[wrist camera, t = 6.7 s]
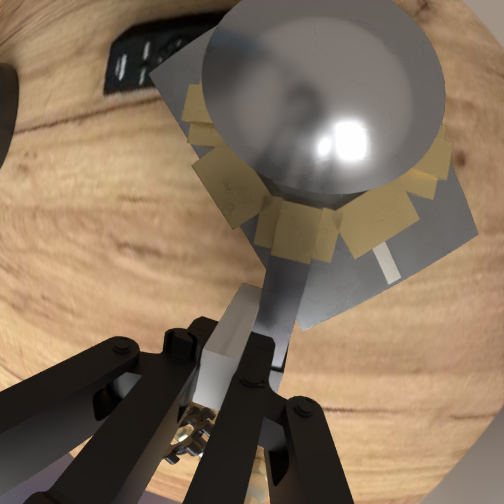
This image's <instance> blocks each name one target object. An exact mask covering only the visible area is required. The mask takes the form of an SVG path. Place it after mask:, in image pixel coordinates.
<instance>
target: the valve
mask: <svg viewBox="0 0 504 504" xmlns="http://www.w3.org/2000/svg"><path fill="white" fill-rule="evenodd" d="M215 416H216V415H215V414H214V412H213V411H212V410H211V409H210V408H208V407H205V408H203V409H202V410H201V411H199V410H198V409H197V408H196V407H191V408H190V409H189V410H188V412H187V415H186V416H185V417H184V419H183V421H182V423H181V425H180V427H179V428H178V430H177V432H176V434H175V436H174V438H175V439H176V440H177V441H178V442H179V443H177V444H174V445H171V444H170V445H169V447H168V449H167V451H166V452H165V454H164V456H163V458H162V459H165V460H166V461H167V462H169V463H170V464H172V465H173V464H176V463H177V462H178V461H179V460H180V459H179V458H178V457H177V456H176V455H183V454H186V453H188V454H189V455H191V456H199V462H200V459H201V457H202V454H203V452H204V449H205V447H206V444H207V442H206V441H205V440H204V439H203V438H202V435H203V433H205V434H206V435H207V436H210V434H211V431H212V429H213V426H214V425H213V424H212V423H211V422H210V421H209V420H206V419H207V418H210V419H211V420H214V418H215ZM188 424H191V425H192V426H193V427H194V430H192V429H191V428H190V427H188V426H186V425H188ZM268 493H269V489H268V482H267V473H266V466H265V462H264V461H263V460H262V459H254V464H253V468H252V472H251V477H250V481H249V485H248V489H247V493H246V497H245V502H244V504H262V503H263V502H264V501H265V500H266V498H267V496H268Z"/></svg>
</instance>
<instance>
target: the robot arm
mask: <svg viewBox="0 0 504 504" xmlns="http://www.w3.org/2000/svg"><path fill="white" fill-rule="evenodd" d="M17 103H18V82H17V76H16V73H15V70H14V69H13V67H12V66H11V65H9V64H5V63H0V168H1V166H2V164H3V162H4V159H5V157H6V154H7V151H8V148H9V145H10V141H11V137H12V133H13V129H14V124H15V119H16V112H17ZM261 293H262V288H258V287H255V286H252V285H248V284H245V283H242V284H241V286H240V288H239V289H238V291H237V293H236V294H235V296H234V298H233V299H232V301H231V303H230V305H229V306H228V308H227V310H226V311H225V313H224V315H223V316H222V318H221V320H220V321H219V322H218V321H215V320H212V319H209V318H206V317H203V316H201V317H199V318H197V319H195V320H194V321H193V322H192V323H191V324H190V326H189V327H188V328H187V329H184V328H173V329H169V330H168V331H166V332H165V336H164V344H163V351H162V352H161V353H159V354H154V353H147V352H141V351H140V348H139V345H138V344H137V343H136V342H135V341H134V340H132V339H130V338H127V337H123V336H115V337H112V338H109V339H107V340H105V341H103V342H101V343H99V344H97V345H95V346H93V347H91V348H89V349H87V350H85V351H83V352H81V353H79V354H77V355H75V356H73V357H71V358H69V359H67V360H65V361H63V362H60V363H58V364H56V365H54V366H52V367H50V368H48V369H46V370H44V371H42V372H40V373H38V374H36V375H34V376H32V377H30V378H28V379H26V380H24V381H21V382H19V383H17V384H15V385H13V386H11V387H9V388H7V389H5V390H3V391H1V392H0V496H1V495H2V494H4V493H6V492H7V491H9V490H11V489H12V488H14V487H16V486H17V485H19V484H20V483H22V482H24V481H25V480H27V479H29V478H30V477H31V476H33V475H35V474H36V473H38V472H39V471H41V470H42V469H44V468H46V467H47V466H49V465H50V464H52V463H53V462H55V461H56V460H58V459H59V458H61V457H62V456H64V455H65V454H67V453H68V452H70V451H71V450H73V449H74V448H76V447H77V446H78V445H80V444H81V443H83V442H84V441H86V440H87V439H88V438H90V437H91V436H92V438H91V439H90V440H89V441H88V443H87V444H86V445H85V446H84V448H83V449H82V450H81V451H80V452H79V454H78V455H77V456H76V457H75V459H74V460H73V461H72V463H71V464H70V465H69V466H68V467H67V469H66V470H65V471H64V472H63V474H62V475H61V476H60V477H59V479H58V480H57V481H56V482H55V484H54V485H53V486H52V487H51V488H50V489H49V490H47V491H46V492H36V493H34V494H32V495H31V496H30V497H29V498H28V499H27V500H26V501H25V502H24V503H23V504H137V503H138V501H139V499H140V498H141V496H142V494H143V492H144V491H145V489H146V487H147V485H148V483H149V482H150V480H151V478H152V476H153V474H154V472H155V471H156V469H157V467H158V465H159V463H160V462H161V460H162V458H163V456H164V454H165V452H166V451H167V449H168V447H169V445H170V443H171V441H172V440H173V438H174V436H175V434H176V432H177V430H178V428H179V427H180V425H181V423H182V421H183V419H184V417H185V415H186V414H187V412H188V408H189V403H190V401H191V399H192V397H193V400H192V402H194V403H197V404H200V405H203V406H205V407H208V408H211V409H214V410H217V411H219V413H218V416H217V419H216V421H215V424H214V426H213V429H212V431H211V434H210V436H209V439H208V442H207V444H206V447H205V449H204V452H203V454H202V457H201V459H200V462H199V464H198V467H197V469H196V472H195V474H194V477H193V479H192V482H191V484H190V486H189V489H188V491H187V494H186V496H185V499H184V501H183V503H182V504H244V502H245V497H246V493H247V489H248V485H249V481H250V477H251V472H252V468H253V464H254V459H255V455H256V450H257V446H258V445H259V446H261V447H263V448H264V458H265V466H266V473H267V481H268V489H269V496H270V504H354V501H353V498H352V495H351V492H350V489H349V486H348V483H347V480H346V477H345V474H344V471H343V468H342V465H341V462H340V459H339V456H338V453H337V450H336V447H335V444H334V441H333V439H332V436H331V433H330V430H329V427H328V424H327V421H326V418H325V415H324V412H323V410H322V408H321V406H320V405H319V404H318V403H317V402H316V401H315V400H313V399H310V398H308V397H304V396H294V397H292V398H290V399H289V400H287V399H285V398H283V397H281V396H279V395H278V394H276V393H275V392H274V391H273V390H272V388H271V387H270V385H269V376H270V371H271V366H272V362H273V357H274V352H275V347H276V344H275V342H274V340H273V338H272V337H269V336H265V335H262V334H259V333H255V332H253V328H254V323H255V319H256V316H257V312H258V309H259V302H260V297H261Z"/></svg>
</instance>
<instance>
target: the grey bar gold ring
mask: <svg viewBox="0 0 504 504" xmlns="http://www.w3.org/2000/svg"><path fill="white" fill-rule="evenodd" d="M182 120H183V121H186V122H188V123H191V124H190V129H189V134H188V139H187V143H190V144H194V145H198V146H202V147H206V148H211V149H213V150H211V151H210V152H209V153H207V154H206V155H205V156H203V157H202V158H201V159H199V160H198V161H197V162H195V163H194V164H193V165H191V166H192V168H193V169H194V171H195V172H196V174H197V175H198V177H199V178H200V180H201V181H202V183H203V185H204V186H205V188H206V189H207V191H208V192H209V194H210V195H211V197H212V198H213V200H214V201H215V203H216V204H217V206H218V208H219V209H220V211H221V212H222V214H223V215H224V217H225V218H226V220H227V221H228V223H229V224H230V226H231V227H232V229H233V230H234V229H235V228H237V227H238V226H240V225H241V224H243V223H244V222H246V221H247V220H249V219H251V218H252V217H254V216H255V215H257V214H258V213H260V214H259V219H258V223H257V228H256V233H255V238H254V243H253V244H255V245H259V246H263V247H267V248H271V253H270V257H269V262H268V266H267V271H266V275H265V279H264V284H263V288H262V293H261V297H260V302H259V309H258V312H257V316H256V319H255V323H254V328H253V332H255V333H259V334H262V335H265V336H269V337H272V338H273V340H274V342H275V344H276V347H275V352H274V357H273V362H272V366H271V371H270V376H269V385H270V387H271V388H272V390H273V391H274V392H275V393H276V394H277V391H278V388H279V385H280V382H281V379H282V376H283V373H284V368H285V363H286V357H287V351H288V346H289V340H290V337H291V333H292V330H293V327H294V323H295V320H296V317H297V313H298V310H299V306H300V303H301V299H302V295H303V292H304V288H305V285H306V281H307V277H308V273H309V270H310V266H311V262H312V259H316V260H320V261H324V262H328V263H331V259H332V255H333V252H334V248H335V244H336V240H337V237H338V233H340V234H341V236H342V238H343V240H344V241H345V243H346V245H347V246H348V248H349V250H350V252H351V253H352V255H353V257H354V259H356V258H358V257H360V256H361V255H363V254H365V253H366V252H368V251H370V250H371V249H373V248H375V247H376V246H378V245H380V244H381V243H383V242H385V241H386V240H388V239H389V238H391V237H393V236H394V235H396V234H398V233H399V232H401V231H402V230H404V229H405V228H407V227H409V226H410V225H412V224H413V223H415V222H417V221H418V220H420V218H419V216H418V214H417V212H416V210H415V208H414V206H413V204H412V202H411V201H410V199H409V197H408V195H407V194H409V195H413V196H418V197H422V198H427V199H432V200H433V199H434V194H435V189H436V185H437V180H447V177H448V171H449V166H450V160H451V154H452V147H453V143H452V142H450V141H447V140H445V132H446V126H445V125H442V124H441V126H440V129H439V132H438V134H437V137H436V138H435V140H434V142H433V144H432V145H431V147H430V149H429V150H428V151H427V153H426V154H425V155H424V156H423V158H422V159H421V160H420V161H419V162H418V163H417V164H416V165H415V166H413V167H412V168H411V169H410V170H409V171H408V172H406V173H405V174H403V175H402V176H400V177H399V178H397V179H395V180H393V181H391V182H389V183H387V184H385V185H383V186H380V187H377V188H373V189H370V190H367V191H362V192H356V193H350V194H348V195H346V196H344V197H343V198H341V199H339V200H338V201H336V202H335V203H333V204H327V203H323V202H319V201H315V200H310V199H306V198H302V197H298V196H293V195H289V194H285V193H280V192H279V191H278V190H277V188H276V187H275V185H274V184H273V182H272V181H271V179H270V178H268V177H266V176H264V175H262V174H261V173H259V172H258V171H256V170H255V169H253V168H251V167H250V166H249V165H248V164H246V163H245V162H244V161H243V160H241V159H240V158H239V157H238V156H237V155H236V154H235V153H234V152H233V151H232V150H231V149H230V148H229V147H228V146H227V144H226V143H225V142H224V140H223V139H222V137H221V136H220V135H219V133H218V132H217V130H216V128H215V126H214V124H213V123H212V121H211V119H210V116H209V114H208V111H207V108H206V106H205V101H204V97H203V92H202V79H200V83H199V85H194V84H189V88H188V92H187V97H186V101H185V106H184V110H183V115H182Z"/></svg>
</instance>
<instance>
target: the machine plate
mask: <svg viewBox="0 0 504 504" xmlns="http://www.w3.org/2000/svg"><path fill="white" fill-rule="evenodd" d="M149 76H150V78H151V79H152V81H153V83H154V84H155V86H156V88H157V89H158V91H159V92H160V94H161V96H162V97H163V99H164V101H165V102H166V104H167V106H168V107H169V109H170V111H171V112H172V114H173V116H174V117H175V119H176V121H177V122H178V124H179V125H180V127H181V129H182V130H183V132H184V134H185V135H186V137H187V139H188V134H189V129H190V124H191V123H188V122H186V121H183V120H182V115H183V110H184V106H185V101H186V97H187V92H188V88H189V84H194V85H199V83H200V79H202V92H203V97H204V101H205V106H206V108H207V111H208V114H209V116H210V119H211V121H212V123H213V124H214V126H215V128H216V130H217V132H218V133H219V135H220V136H221V137H222V139H223V140H224V142H225V143H226V144H227V146H228V147H229V148H230V149H231V150H232V151H233V152H234V153H235V154H236V155H237V156H238V157H239V158H240V159H241V160H243V161H244V162H245V163H246V164H248V165H249V166H250V167H251V168H253V169H255V170H256V171H258V172H259V173H261V174H262V175H264V176H266V177H268V178H270V179H271V181H272V182H273V184H274V185H275V187H276V188H277V190H278V191H279V192H280V193H285V194H289V195H293V196H298V197H302V198H306V199H310V200H315V201H319V202H323V203H327V204H333V203H335V202H336V201H338V200H339V199H341V198H343V197H344V196H346V195H348V194H350V193H356V192H362V191H367V190H370V189H373V188H377V187H380V186H383V185H385V184H387V183H389V182H391V181H393V180H395V179H397V178H399V177H400V176H402V175H403V174H405V173H406V172H408V171H409V170H410V169H411V168H412V167H413V166H415V165H416V164H417V163H418V162H419V161H420V160H421V159H422V158H423V156H424V155H425V154H426V153H427V151H428V150H429V149H430V147H431V145H432V144H433V142H434V140H435V138H436V137H437V134H438V132H439V129H440V126H441V124H442V120H443V115H444V111H445V98H446V93H445V81H444V76H443V72H442V68H441V65H440V62H439V59H438V57H437V54H436V52H435V50H434V48H433V46H432V44H431V42H430V41H429V39H428V38H427V36H426V35H425V33H424V32H423V30H422V29H421V28H420V27H419V25H418V24H417V23H416V22H415V21H414V20H413V19H412V18H411V17H410V16H409V15H408V14H407V13H406V12H405V11H404V10H402V9H401V8H400V7H399V6H398V5H396V4H395V3H393V2H392V1H390V0H242V1H240V2H239V3H238V4H236V5H235V6H234V7H233V8H232V9H231V10H230V11H229V12H228V13H227V14H226V15H225V16H224V18H223V19H222V20H221V21H220V23H219V24H218V25H217V26H215V27H214V28H212V29H211V30H209V31H207V32H206V33H204V34H203V35H201V36H200V37H198V38H197V39H195V40H194V41H192V42H191V43H189V44H188V45H186V46H185V47H184V48H182V49H181V50H179V51H178V52H177V53H175V54H174V55H173V56H171V57H170V58H169V59H167V60H166V61H165V62H163V63H162V64H161V65H159V66H158V67H157V68H156V69H154V70H153V71H152V72H150V73H149ZM191 145H192V147H193V149H194V150H195V152H196V154H197V155H198V157H199V159H201V158H202V157H203V156H205V155H206V154H207V153H209V152H210V151H211V150H213V149H211V148H206V147H202V146H198V145H194V144H191ZM407 195H408V197H409V199H410V201H411V202H412V204H413V206H414V208H415V210H416V212H417V214H418V216H419V218H420V220H418V221H417V222H415V223H413V224H412V225H410V226H409V227H407V228H405V229H404V230H402V231H401V232H399V233H398V234H396V235H394V236H393V237H391V238H389V239H388V240H386V241H385V242H383V243H381V244H380V245H378V246H376V247H375V248H373V249H371V250H370V251H368V252H366V253H365V254H363V255H361V256H360V257H358V258H356V259H354V257H353V255H352V253H351V252H350V250H349V248H348V246H347V245H346V243H345V241H344V240H343V238H342V236H341V234H340V233H338V237H337V240H336V244H335V248H334V252H333V255H332V259H331V263H328V262H324V261H320V260H316V259H312V262H311V266H310V270H309V273H308V277H307V281H306V285H305V288H304V292H303V295H302V299H301V303H300V306H299V310H298V313H297V317H296V320H297V322H298V324H299V325H300V327H301V329H302V330H303V331H304V330H306V329H308V328H310V327H313V326H315V325H317V324H319V323H321V322H323V321H325V320H328V319H330V318H332V317H334V316H336V315H338V314H340V313H342V312H344V311H346V310H348V309H350V308H352V307H354V306H356V305H358V304H360V303H362V302H364V301H366V300H368V299H370V298H372V297H374V296H375V295H377V294H379V293H381V292H383V291H385V290H387V289H389V288H390V287H392V286H394V285H396V284H398V283H399V282H401V281H403V280H405V279H407V278H408V277H410V276H412V275H414V274H415V273H417V272H419V271H421V270H422V269H424V268H426V267H427V266H429V265H431V264H432V263H434V262H436V261H437V260H439V259H441V258H442V257H444V256H446V255H447V254H449V253H450V252H452V251H454V250H455V249H457V248H458V247H460V246H461V245H463V244H465V243H466V242H468V241H469V240H471V239H472V238H474V237H475V236H477V235H478V232H477V229H476V226H475V223H474V220H473V217H472V214H471V211H470V209H469V206H468V203H467V201H466V198H465V196H464V193H463V191H462V188H461V186H460V184H459V181H458V179H457V177H456V174H455V172H454V170H453V168H452V165H451V163H450V166H449V171H448V177H447V180H437V185H436V189H435V194H434V199H433V200H432V199H427V198H422V197H418V196H413V195H409V194H407ZM259 214H260V213H258V214H257V215H255V216H254V217H252V218H251V219H249V220H247V221H246V222H244V223H243V224H241V225H240V227H241V228H242V230H243V232H244V233H245V235H246V237H247V238H248V240H249V242H250V243H251V245H252V247H253V248H254V250H255V252H256V253H257V255H258V257H259V258H260V260H261V262H262V263H263V265H264V267H265V268H266V270H267V266H268V262H269V257H270V253H271V248H267V247H263V246H259V245H255V244H253V243H254V238H255V233H256V228H257V223H258V219H259Z"/></svg>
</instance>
